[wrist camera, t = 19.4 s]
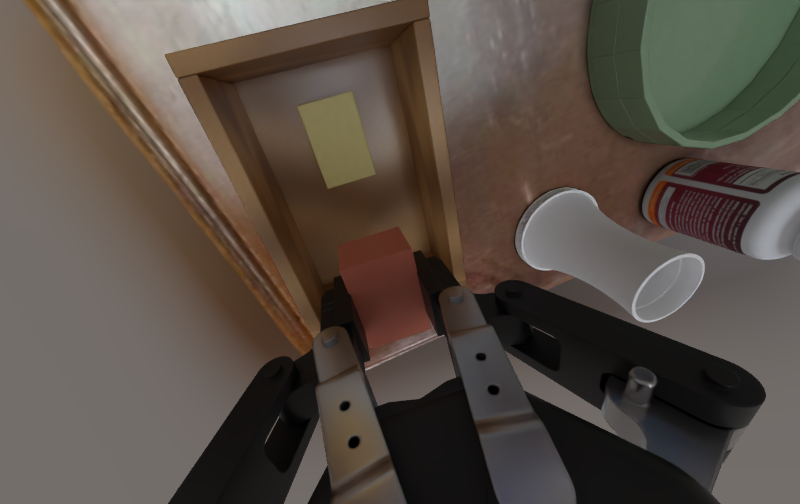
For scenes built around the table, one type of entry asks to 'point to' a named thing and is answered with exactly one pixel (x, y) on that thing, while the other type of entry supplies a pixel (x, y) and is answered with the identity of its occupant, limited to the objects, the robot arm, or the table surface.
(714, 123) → the bowl
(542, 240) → the vase
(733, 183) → the pill bottle
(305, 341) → the table surface
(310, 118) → the yellow block
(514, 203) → the table surface
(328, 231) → the holder
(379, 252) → the red block
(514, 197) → the table surface
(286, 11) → the table surface
